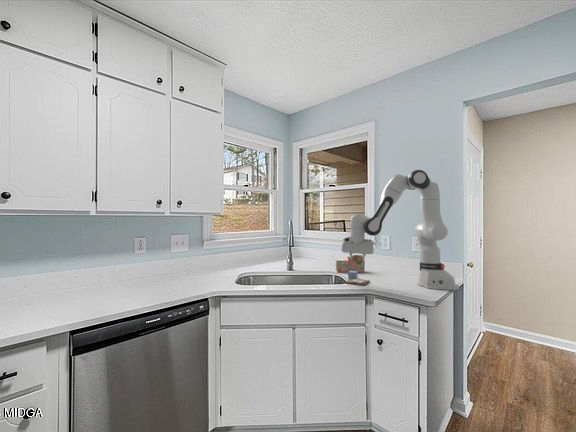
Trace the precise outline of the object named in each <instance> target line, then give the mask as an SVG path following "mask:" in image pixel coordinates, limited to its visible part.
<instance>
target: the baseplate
mask: <svg viewBox="0 0 576 432" xmlns="http://www.w3.org/2000/svg"><path fill="white" fill-rule="evenodd" d="M369 283H370V280H369V279H368V280H366V279H360V278H358V279H348V280H347V281H345V284H346V285H356V286H364V287H365V286H366V285H368V284H369Z"/></svg>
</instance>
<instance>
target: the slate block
mask: <svg viewBox="0 0 576 432" xmlns="http://www.w3.org/2000/svg"><path fill="white" fill-rule="evenodd" d="M358 273H359V272H358V271H349V272H347V279H348V280H350V279H359V278H358V276H359V275H358Z"/></svg>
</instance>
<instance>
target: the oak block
mask: <svg viewBox="0 0 576 432" xmlns="http://www.w3.org/2000/svg"><path fill="white" fill-rule="evenodd" d="M363 256H364V255H363V254H362V255H361V254H352V261H353V264H362V263H363V261H361V258H362V257H363Z"/></svg>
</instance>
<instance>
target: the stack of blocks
mask: <svg viewBox="0 0 576 432" xmlns="http://www.w3.org/2000/svg"><path fill="white" fill-rule="evenodd" d="M365 262H366V261H365V260H364V261H363V263H362V264H353V261H352V260H351V256H350V255H347V257H346V258H345V259H344V258H341V259H339V258H338V259H335V271H339V272H338V273H348V272H349V271H358V273H365V264H366V263H365Z"/></svg>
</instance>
